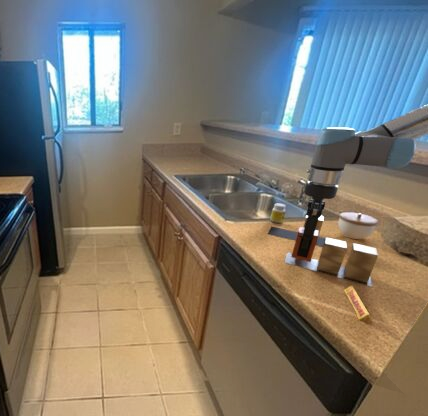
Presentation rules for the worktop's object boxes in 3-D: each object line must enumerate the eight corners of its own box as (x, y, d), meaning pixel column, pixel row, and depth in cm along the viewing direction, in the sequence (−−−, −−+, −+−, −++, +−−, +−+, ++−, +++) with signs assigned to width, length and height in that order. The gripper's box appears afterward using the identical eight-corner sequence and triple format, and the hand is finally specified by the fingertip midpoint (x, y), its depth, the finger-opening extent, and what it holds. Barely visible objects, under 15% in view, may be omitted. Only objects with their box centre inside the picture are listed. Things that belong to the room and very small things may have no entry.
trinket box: (345, 228, 111) (352, 206, 108) (378, 239, 102) (386, 216, 99) (327, 232, 108) (334, 210, 105) (359, 245, 99) (368, 221, 95)
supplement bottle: (282, 226, 114) (287, 207, 111) (269, 224, 117) (273, 205, 114) (282, 222, 118) (286, 203, 115) (269, 220, 121) (273, 202, 117)
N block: (365, 274, 82) (376, 248, 78) (367, 282, 78) (378, 255, 75) (344, 268, 84) (353, 243, 81) (344, 276, 81) (353, 249, 78)
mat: (325, 238, 104) (325, 238, 103) (324, 248, 97) (324, 247, 97) (271, 226, 114) (271, 226, 114) (267, 234, 108) (267, 234, 107)
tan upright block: (337, 267, 85) (346, 241, 82) (337, 274, 82) (347, 248, 79) (317, 262, 88) (325, 237, 85) (317, 269, 85) (325, 243, 81)
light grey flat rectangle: (369, 274, 82) (369, 273, 82) (372, 287, 76) (372, 286, 76) (287, 252, 94) (287, 252, 94) (284, 263, 89) (284, 262, 89)
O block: (317, 238, 103) (323, 216, 100) (316, 243, 100) (323, 220, 97) (301, 234, 106) (307, 213, 103) (299, 239, 103) (305, 217, 99)
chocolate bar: (355, 292, 74) (357, 286, 74) (372, 323, 64) (376, 315, 64) (343, 290, 76) (345, 283, 75) (358, 319, 65) (361, 312, 65)
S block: (311, 255, 89) (318, 230, 86) (310, 262, 85) (318, 236, 82) (293, 250, 92) (299, 226, 89) (291, 257, 88) (298, 231, 85)
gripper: (308, 174, 88) (292, 238, 97) (304, 187, 75) (285, 260, 84) (338, 178, 84) (318, 245, 92) (339, 192, 71) (315, 269, 79)
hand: (302, 252), depth 88 cm, fingers closed on S block, 5 cm apart
